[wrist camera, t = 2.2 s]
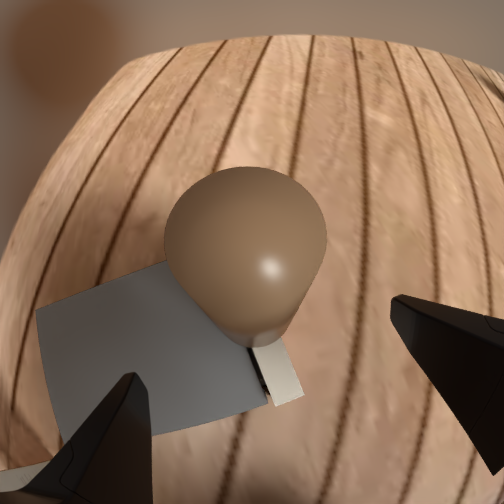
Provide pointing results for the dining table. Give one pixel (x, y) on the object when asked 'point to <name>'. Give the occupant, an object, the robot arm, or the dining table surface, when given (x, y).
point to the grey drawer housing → (143, 353)
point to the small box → (19, 476)
